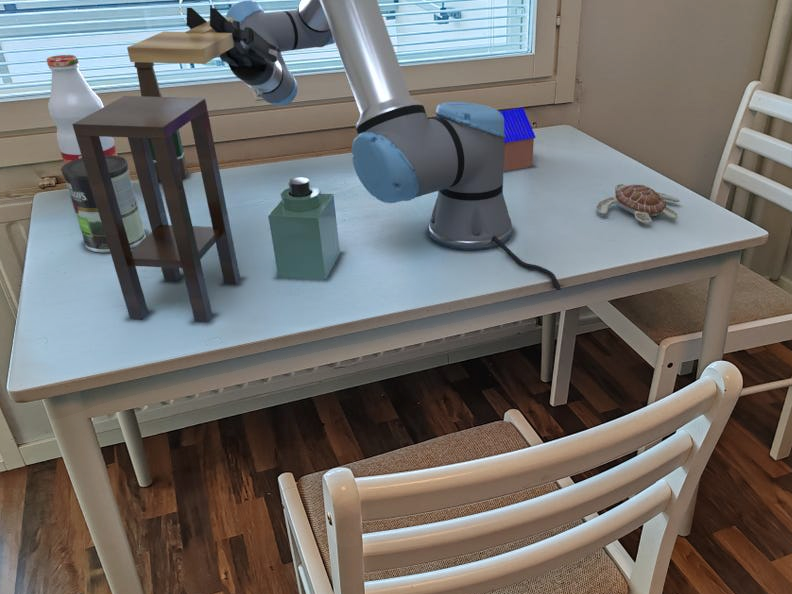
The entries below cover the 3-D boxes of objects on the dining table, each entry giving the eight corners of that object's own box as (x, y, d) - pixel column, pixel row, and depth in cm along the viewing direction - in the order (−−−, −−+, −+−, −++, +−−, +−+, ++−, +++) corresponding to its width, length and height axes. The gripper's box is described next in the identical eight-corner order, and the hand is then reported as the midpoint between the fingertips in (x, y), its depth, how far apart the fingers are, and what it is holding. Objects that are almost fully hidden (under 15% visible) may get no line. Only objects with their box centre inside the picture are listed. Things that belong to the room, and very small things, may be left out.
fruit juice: (134, 196, 151) (95, 50, 135) (125, 214, 143) (83, 62, 127) (85, 199, 149) (40, 52, 134) (73, 217, 142) (24, 64, 126)
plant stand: (207, 322, 110) (162, 127, 94) (129, 318, 111) (71, 124, 94) (240, 279, 121) (205, 98, 105) (169, 275, 122) (124, 95, 106)
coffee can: (99, 258, 127) (74, 179, 119) (76, 240, 133) (51, 164, 125) (156, 241, 133) (137, 165, 125) (132, 224, 139) (112, 150, 131)
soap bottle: (325, 280, 121) (316, 205, 114) (278, 277, 122) (266, 203, 115) (340, 253, 130) (332, 182, 122) (295, 251, 130) (285, 180, 123)
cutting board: (204, 64, 105) (201, 47, 104) (130, 62, 106) (126, 45, 105) (259, 32, 125) (257, 18, 124) (195, 30, 126) (193, 16, 125)
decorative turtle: (653, 190, 156) (656, 167, 153) (701, 220, 143) (705, 195, 141) (577, 202, 150) (579, 179, 147) (620, 234, 137) (623, 209, 135)
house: (432, 164, 169) (430, 112, 162) (508, 151, 176) (510, 101, 170) (455, 180, 160) (454, 126, 153) (534, 166, 168) (537, 114, 161)
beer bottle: (176, 184, 157) (149, 65, 143) (143, 181, 158) (113, 63, 144) (195, 172, 163) (171, 57, 150) (163, 169, 164) (136, 55, 151)
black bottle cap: (307, 199, 117) (305, 184, 116) (288, 198, 118) (285, 184, 116) (313, 191, 120) (311, 177, 119) (293, 190, 120) (291, 176, 119)
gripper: (296, 87, 139) (250, 42, 115) (213, 85, 139) (150, 40, 116) (297, 46, 138) (251, -7, 115) (213, 44, 139) (150, -10, 116)
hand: (200, 16), depth 115 cm, fingers closed on cutting board, 3 cm apart
